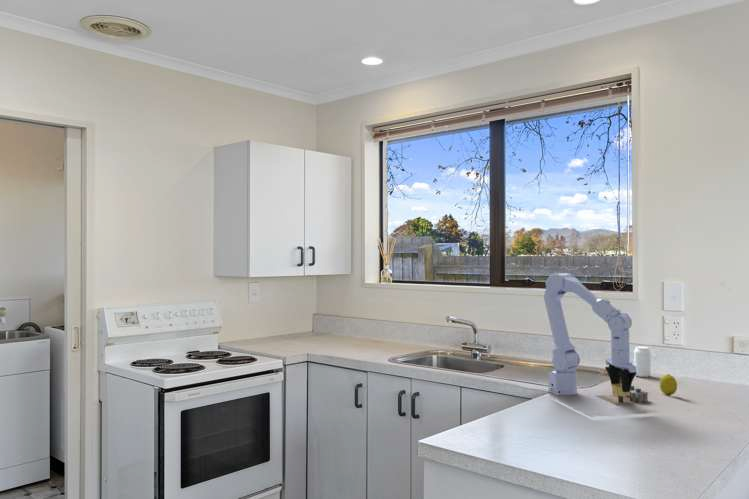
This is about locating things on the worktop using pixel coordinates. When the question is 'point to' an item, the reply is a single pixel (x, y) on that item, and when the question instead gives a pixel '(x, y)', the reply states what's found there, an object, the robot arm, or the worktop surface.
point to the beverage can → (642, 361)
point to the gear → (619, 390)
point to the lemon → (668, 385)
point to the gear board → (628, 398)
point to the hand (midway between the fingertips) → (620, 389)
